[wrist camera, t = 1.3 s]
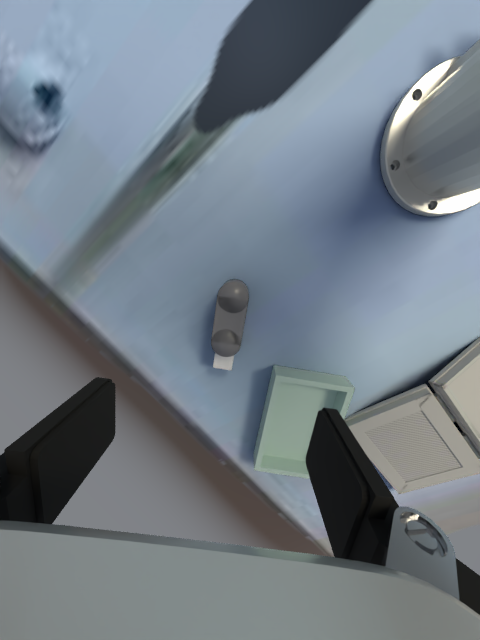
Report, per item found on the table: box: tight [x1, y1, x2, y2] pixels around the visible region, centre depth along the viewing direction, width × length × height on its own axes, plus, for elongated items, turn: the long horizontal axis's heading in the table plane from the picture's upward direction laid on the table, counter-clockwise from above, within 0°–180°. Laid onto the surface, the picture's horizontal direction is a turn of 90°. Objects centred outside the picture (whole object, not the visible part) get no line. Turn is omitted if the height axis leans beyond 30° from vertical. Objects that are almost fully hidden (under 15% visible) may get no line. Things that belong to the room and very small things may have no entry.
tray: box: [254, 365, 355, 479], centre depth 29 cm, size 14×9×3 cm, turn 171°
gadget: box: [344, 337, 480, 494], centre depth 28 cm, size 23×15×4 cm, turn 130°
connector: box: [211, 279, 249, 371], centre depth 25 cm, size 10×3×4 cm, turn 171°
